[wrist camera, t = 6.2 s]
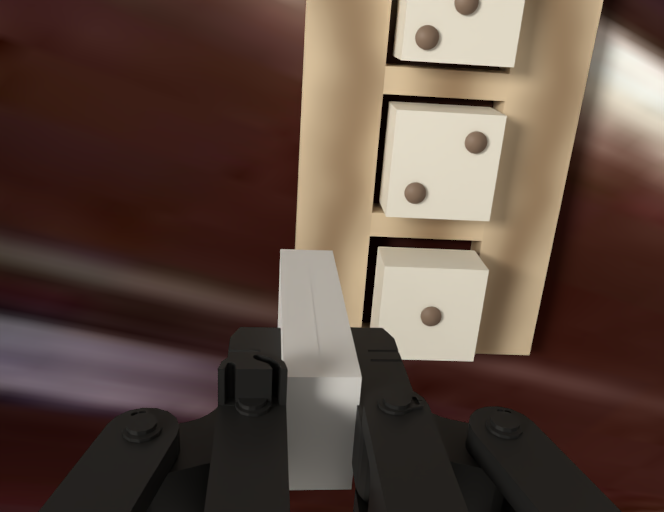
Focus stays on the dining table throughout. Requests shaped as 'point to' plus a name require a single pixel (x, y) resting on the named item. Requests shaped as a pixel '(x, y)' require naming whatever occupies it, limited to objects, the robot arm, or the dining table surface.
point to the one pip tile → (430, 301)
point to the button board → (449, 82)
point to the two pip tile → (440, 161)
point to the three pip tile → (458, 31)
